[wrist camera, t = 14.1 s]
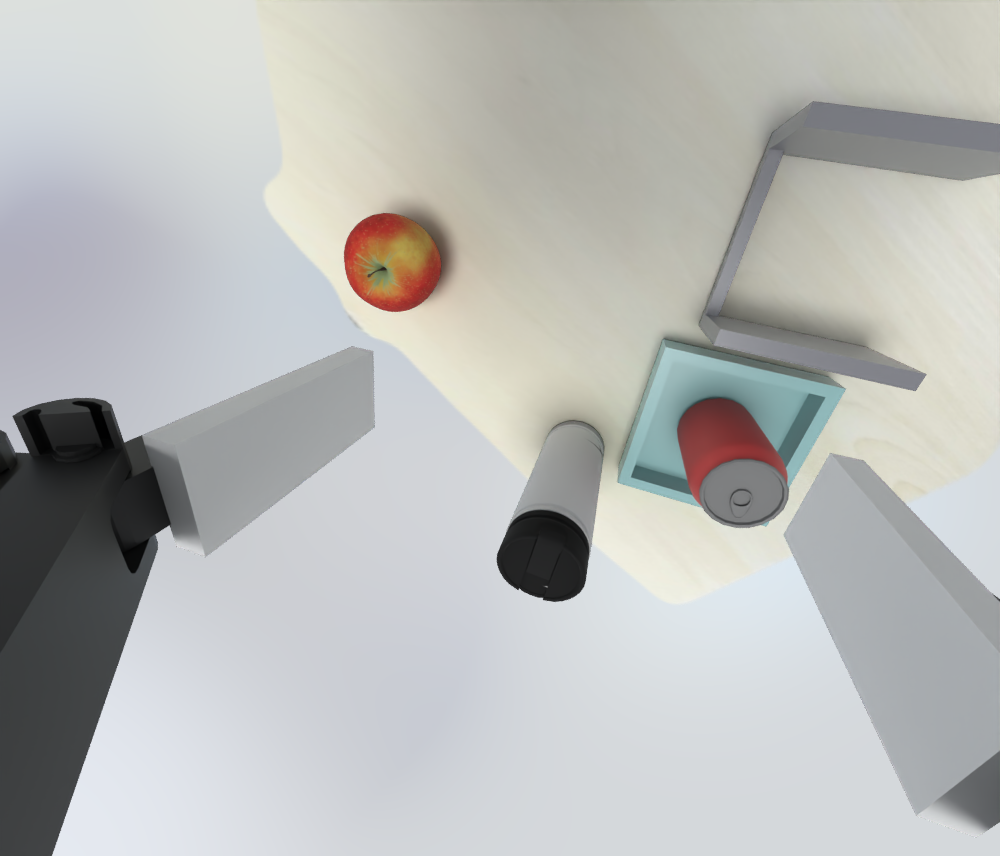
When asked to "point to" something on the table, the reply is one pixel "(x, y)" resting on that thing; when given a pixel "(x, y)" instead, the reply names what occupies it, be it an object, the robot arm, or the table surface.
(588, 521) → the travel mug
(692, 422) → the beer can
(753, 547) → the table surface
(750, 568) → the table surface
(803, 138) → the bay
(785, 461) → the tray
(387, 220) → the apple
